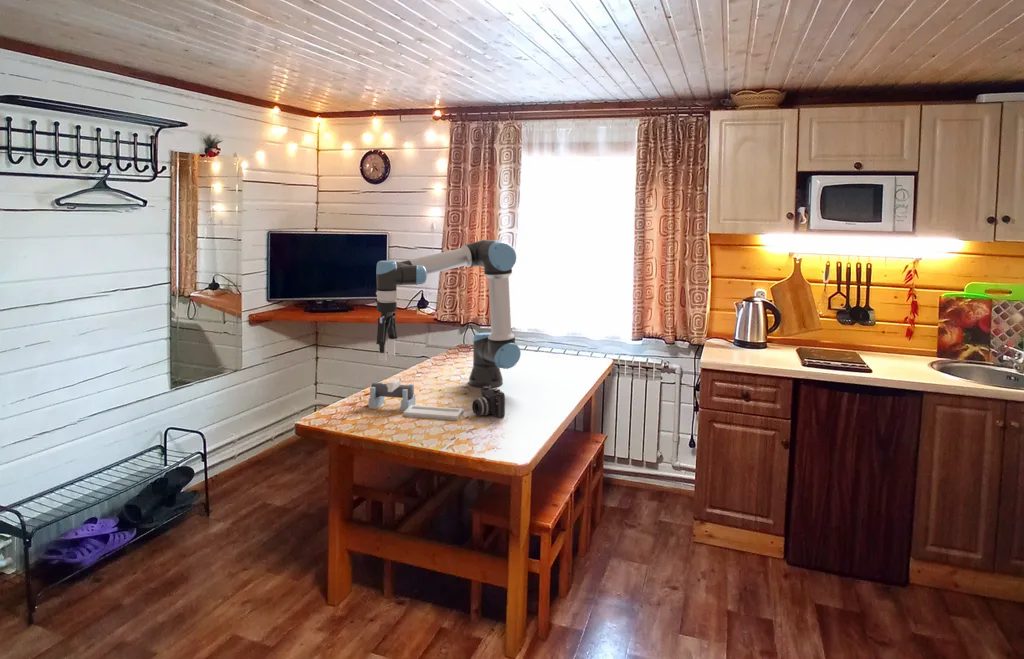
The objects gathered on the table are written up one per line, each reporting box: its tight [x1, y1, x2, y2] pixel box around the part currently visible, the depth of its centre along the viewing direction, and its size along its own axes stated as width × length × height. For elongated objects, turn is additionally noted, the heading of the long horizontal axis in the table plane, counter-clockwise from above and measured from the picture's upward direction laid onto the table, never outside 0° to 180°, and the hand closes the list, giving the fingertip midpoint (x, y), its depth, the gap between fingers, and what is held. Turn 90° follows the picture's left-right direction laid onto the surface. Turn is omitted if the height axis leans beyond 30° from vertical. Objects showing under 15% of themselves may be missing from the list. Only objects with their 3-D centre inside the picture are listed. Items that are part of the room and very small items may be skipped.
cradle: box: [368, 381, 416, 412], centre depth 274 cm, size 16×10×8 cm, turn 81°
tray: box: [402, 404, 464, 421], centre depth 266 cm, size 21×10×2 cm, turn 81°
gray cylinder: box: [370, 382, 415, 399], centre depth 273 cm, size 16×5×5 cm, turn 81°
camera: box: [471, 386, 506, 419], centre depth 268 cm, size 14×11×10 cm
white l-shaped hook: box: [386, 379, 401, 392], centre depth 266 cm, size 2×10×4 cm, turn 171°
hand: (387, 357), depth 271 cm, fingers open, 9 cm apart
